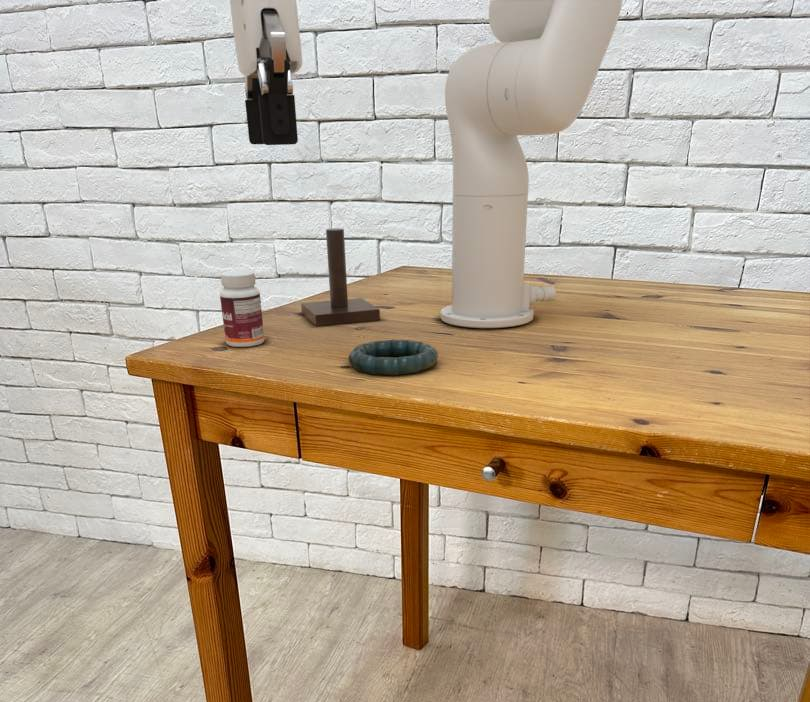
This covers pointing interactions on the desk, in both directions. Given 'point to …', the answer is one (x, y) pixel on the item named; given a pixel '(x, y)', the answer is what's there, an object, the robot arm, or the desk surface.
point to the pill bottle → (241, 309)
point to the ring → (375, 361)
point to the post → (338, 291)
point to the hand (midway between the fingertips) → (272, 144)
